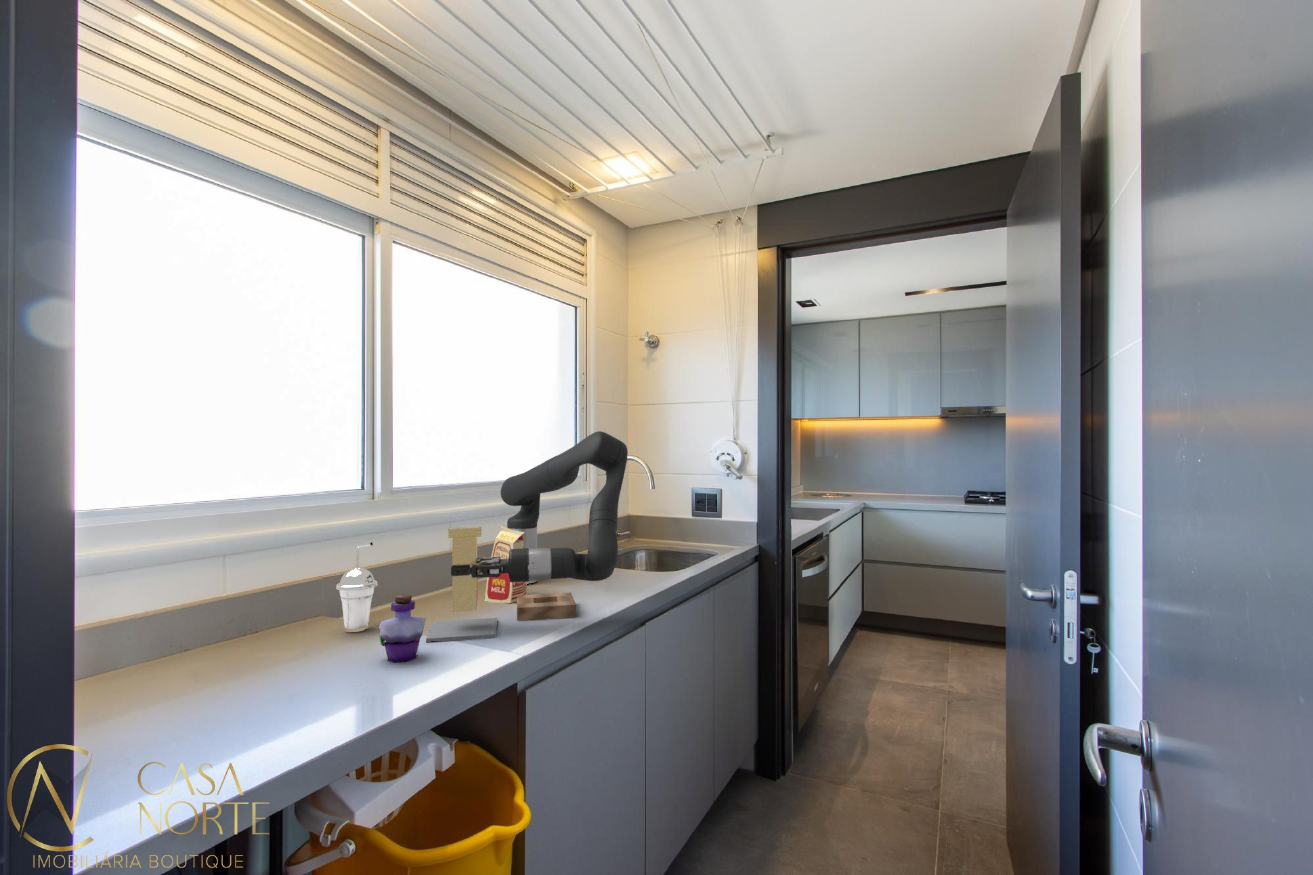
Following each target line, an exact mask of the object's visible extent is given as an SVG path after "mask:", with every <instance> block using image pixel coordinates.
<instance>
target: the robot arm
mask: <svg viewBox="0 0 1313 875" xmlns="http://www.w3.org/2000/svg"><path fill="white" fill-rule="evenodd" d="M628 455H629V454H628V447H627V445H626V444H625V443H624V442H623V441H621V440H620V439H618V438H616V437H615V436H612V435H611V434H609V433H607V432H605V431H601V430H600V431H598V430H597V431H594V432H593V433H590V434H589V435H588V436H586V437H585V438H583V439H581V440H580V441H579V442H577V443H576V444H575V445H574V446H572V447H571V448H568V449H567V450H565V451H563V452H561V453H560V454H557V455H555V456H553V457H551V458H548V459H547V460H545V461H543V462H541V463H540V464H538V465H536V466H534V467H533V468H530V469H529V470H526V471H525V472H522V473H519V474H516V475H513V476H510V477H508V478H506V479H505V481H504V482H503V483H502V485H501V487H500V498H501V500H502V501H503V502H504V503H505V505H508V506H511V507H520V509H519V511H518V512H517V513H516V514H515V515H512V516H511V517H509V518H508V519H507V522H506V528H508V529H511V530H514V531H520V532H525V533H524V534H523V535H522V536H523V541H524V548H522V549H510V550H509V558H508V559H501V557H499V556H496V557H491V556H490V557H477V564H470V565H453V566H451V568H450V575H451V576H464V575H469V576H471V577H473V578H476V577H477V578H488V577H495V578H497V577H499V576H500V574H504V573H508V574H509V581H510V582H527V583H533V582H536V581H537V582H542V581H546V580H557V579H574V580H579V581H586V582H589V581H590V582H600V581H604V580H607V579H608V578H610V577H611V576H612V575H613V574H614V571H615V569H616V568H615V567H616V564H617V561H618V556H619V554H618V553H619V552H618V549H619V548H618V544H619V543H618V537H617V536H618V535H617V533H618V532H617V531H618V518H619V516H618V514H619V512H618V511H619V503H620V502H619V500H620V497H621V490H622V485H623V481H624V477H625V472H626V468H627V462H628ZM586 464H587V465H592V466H594V467H596V468H598V469H600V470H602V471H603V472H605V476H606V477H605V478H606V480H605V484H604V486H603V487H602V489H600V491H599V492H598V493H597V494H596V496H595V497H594V498H593V500H592V502H591V505H590V508H589V516H588V534H589V538H588V539H589V540H588V547H587V548H588V549H587V553H577V552H575V550H574V549H573V548H571V547H554V548H553V547H550V548H547V547H538V522H539V519H540V518H539V517H540V506H541V494H544V493H550V492H554V491H558V490H561V489H563V488H566V487H568V486H570V485H571V484H573V483H574V482H575V480H576V479H577V478H578V476H579V473H580V467H581V466H583V465H586ZM537 582H536V583H537Z"/></svg>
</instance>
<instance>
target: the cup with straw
mask: <svg viewBox="0 0 1313 875" xmlns="http://www.w3.org/2000/svg"><path fill="white" fill-rule="evenodd" d="M371 546H374V543H373V542H372V541H371V542H364V543H360V544H359V543H358V544H357V545H356V546H355V552H354V554H355V555H354V556H355V557H354V558H355V559H354V568H351V569H349V570H347V571H345V573H344V574H343V575H342V577H341V579H340V580H339V582H338V583H337V584H336V587H335V589H336V590H337V591H339V596H340V600H341V607H342V608H341V609H342V614H343V615H342V617H343V627H344V628H346V629H360V628H364V627H366V626H367V627H368V624H369V620H370V612H371V607H372V606H371V605H372V598H373V595H374V591H375V587H378V585H379V584H378V581H377V579H376V580H375V578H374V575H373V573H372V572H371V571H370V570H368V569H366V568H363V567H359V563H360V562H359V560H360V559H359V558H360V556H359V555H360V548H365V547H371Z"/></svg>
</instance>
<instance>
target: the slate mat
mask: <svg viewBox="0 0 1313 875" xmlns="http://www.w3.org/2000/svg"><path fill="white" fill-rule="evenodd" d="M497 626H498V617H486V618H485V617H484V618H482V617H481V618H469V619H468V618H467V619H453V620H452V619H451V620H435V621H434V622H433V624H432V627H431V628H430V630H429V632H428V634H427V636H426V638H425V643H432V642H431V641H441V642H451V641H452V642H453V641H454V642H455V641H467V640H468V641H469V640H483V639H495V638H496V635H497V634H496V633H497Z"/></svg>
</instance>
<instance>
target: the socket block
mask: <svg viewBox="0 0 1313 875" xmlns="http://www.w3.org/2000/svg"><path fill="white" fill-rule="evenodd" d="M576 617H577V604H576V601H575V599H574V596H573V593H572V592H557V593H556V592H555V593H553V592H552V593H534V594H533V593H532V594H527V595H517V601H516V621H520V622H521V621H533V620H547V619H548V620H549V619H552V620H553V619H563V618H564V619H567V618H576Z"/></svg>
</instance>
